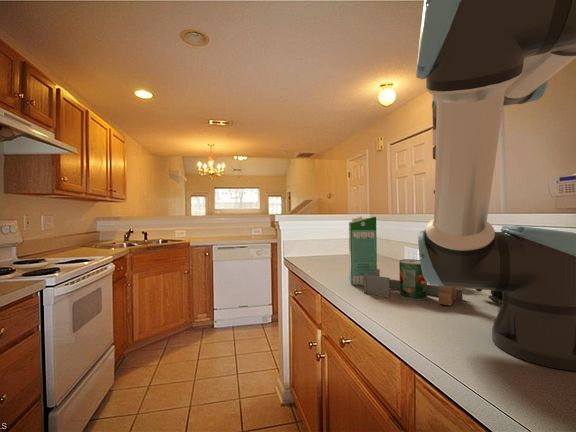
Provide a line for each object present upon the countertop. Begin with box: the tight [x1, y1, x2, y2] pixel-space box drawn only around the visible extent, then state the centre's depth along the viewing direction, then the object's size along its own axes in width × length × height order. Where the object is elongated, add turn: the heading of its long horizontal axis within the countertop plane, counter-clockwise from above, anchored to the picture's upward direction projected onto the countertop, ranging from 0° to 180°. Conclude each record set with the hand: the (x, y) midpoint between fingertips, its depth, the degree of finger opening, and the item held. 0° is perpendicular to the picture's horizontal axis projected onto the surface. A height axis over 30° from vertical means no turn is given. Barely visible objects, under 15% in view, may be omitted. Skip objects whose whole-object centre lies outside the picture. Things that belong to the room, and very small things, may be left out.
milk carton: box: [348, 215, 378, 286], centre depth 105 cm, size 9×9×25 cm
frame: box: [363, 268, 464, 301], centre depth 87 cm, size 12×26×6 cm, turn 51°
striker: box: [438, 286, 457, 306], centre depth 81 cm, size 9×3×18 cm, turn 141°
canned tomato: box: [398, 258, 428, 301], centre depth 87 cm, size 8×8×11 cm
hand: (447, 217), depth 81 cm, fingers open, 13 cm apart
